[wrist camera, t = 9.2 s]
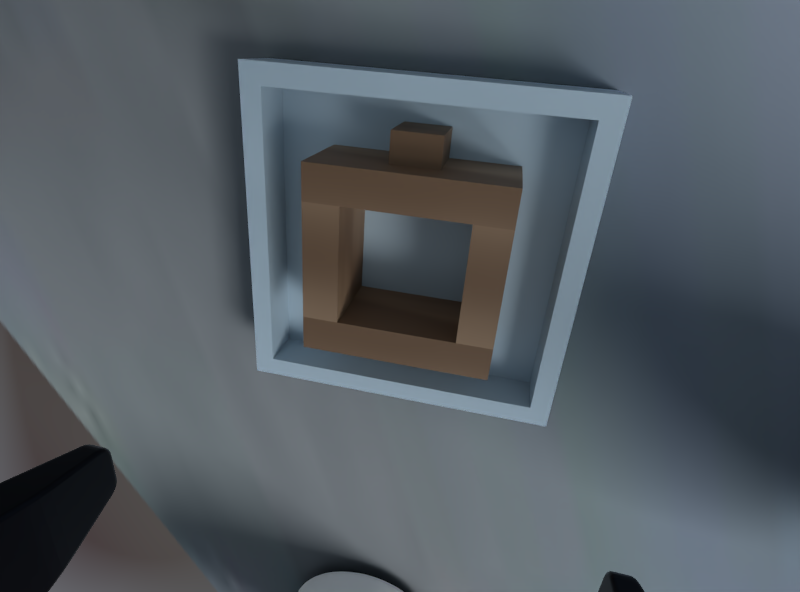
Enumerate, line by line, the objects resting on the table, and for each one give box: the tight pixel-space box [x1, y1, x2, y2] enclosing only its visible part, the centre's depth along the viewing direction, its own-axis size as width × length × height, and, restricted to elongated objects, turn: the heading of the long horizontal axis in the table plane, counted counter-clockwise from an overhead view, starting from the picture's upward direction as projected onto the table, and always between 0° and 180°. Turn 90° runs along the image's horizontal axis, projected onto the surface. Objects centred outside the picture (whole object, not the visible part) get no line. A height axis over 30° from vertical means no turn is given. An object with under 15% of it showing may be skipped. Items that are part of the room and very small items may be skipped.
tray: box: [238, 58, 633, 427], centre depth 18 cm, size 11×11×2 cm
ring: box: [301, 121, 523, 380], centre depth 17 cm, size 7×6×3 cm
